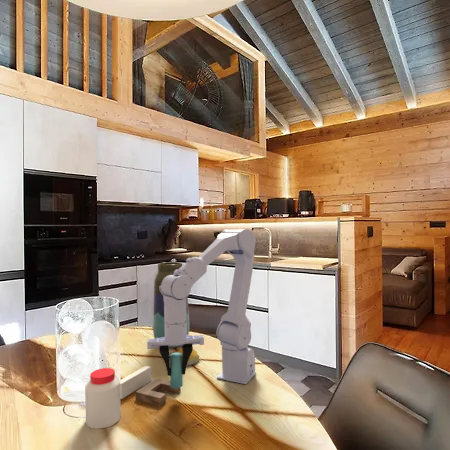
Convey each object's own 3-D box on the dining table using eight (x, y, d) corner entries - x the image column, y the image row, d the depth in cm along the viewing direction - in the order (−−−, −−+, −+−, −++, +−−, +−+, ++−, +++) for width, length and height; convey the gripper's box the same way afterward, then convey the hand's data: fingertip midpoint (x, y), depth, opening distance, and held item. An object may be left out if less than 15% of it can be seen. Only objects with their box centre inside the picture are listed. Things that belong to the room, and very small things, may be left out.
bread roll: (176, 368, 111) (176, 355, 111) (173, 358, 119) (173, 346, 119) (201, 364, 113) (201, 352, 113) (196, 355, 121) (196, 343, 121)
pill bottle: (83, 431, 77) (82, 382, 77) (87, 413, 84) (87, 368, 84) (120, 425, 79) (119, 377, 79) (121, 408, 86) (120, 364, 86)
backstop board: (151, 380, 101) (150, 366, 101) (121, 399, 91) (121, 383, 91) (145, 379, 102) (145, 365, 102) (115, 397, 92) (115, 382, 92)
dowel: (184, 383, 91) (183, 352, 91) (180, 388, 88) (179, 357, 88) (172, 382, 92) (172, 352, 92) (168, 387, 89) (168, 356, 89)
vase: (196, 342, 134) (195, 262, 135) (173, 353, 123) (171, 265, 123) (169, 336, 142) (168, 260, 142) (145, 347, 130) (143, 264, 130)
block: (180, 390, 95) (180, 383, 95) (160, 406, 87) (160, 398, 87) (157, 385, 98) (157, 378, 98) (135, 399, 90) (135, 391, 90)
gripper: (201, 315, 95) (202, 365, 95) (147, 319, 92) (148, 370, 92) (204, 322, 88) (205, 375, 88) (146, 326, 86) (147, 381, 85)
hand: (176, 373), depth 90 cm, fingers closed on dowel, 3 cm apart
